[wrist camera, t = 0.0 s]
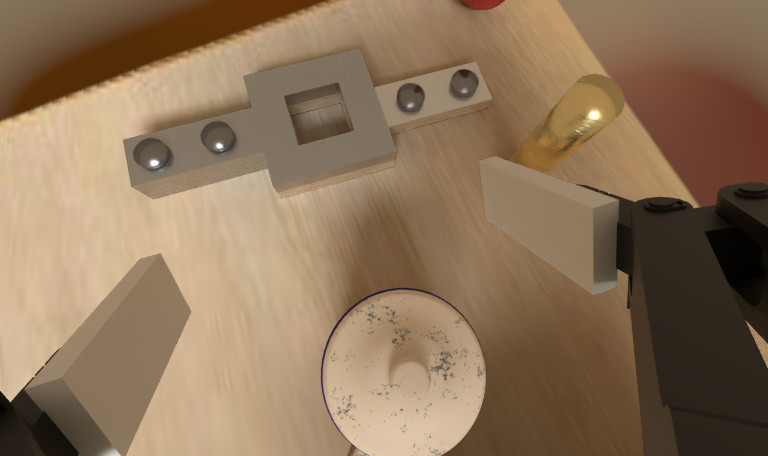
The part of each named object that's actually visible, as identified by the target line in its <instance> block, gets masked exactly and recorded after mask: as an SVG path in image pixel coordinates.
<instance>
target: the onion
mask: <svg viewBox="0 0 768 456" xmlns="http://www.w3.org/2000/svg"><path fill="white" fill-rule="evenodd" d="M461 1H462V2H463V3H464V4H465V5H466V6H468V7H470V8H471V9H475V10H488V9H492V8H494V7H496V6H498V5H500V4H501V3H502V2H504V1H505V0H461Z"/></svg>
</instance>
